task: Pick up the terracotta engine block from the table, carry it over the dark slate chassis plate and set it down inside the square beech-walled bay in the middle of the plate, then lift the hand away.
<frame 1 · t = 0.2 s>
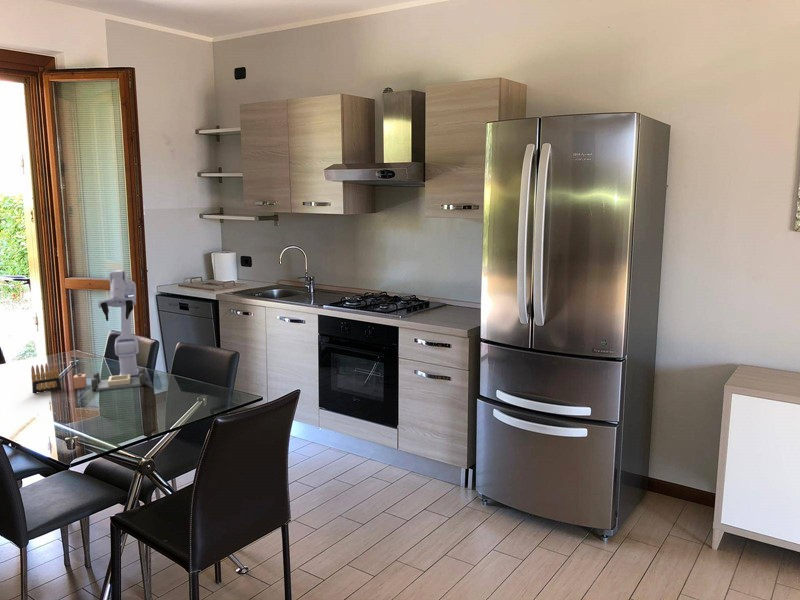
hand: (116, 318, 276), 31 cm above the table, tool tilted 45°, fingers open, 7 cm apart
ammunition clip: (47, 391, 285), on the table
chassis: (119, 384, 292), on the table
engine block: (80, 386, 290), on the table
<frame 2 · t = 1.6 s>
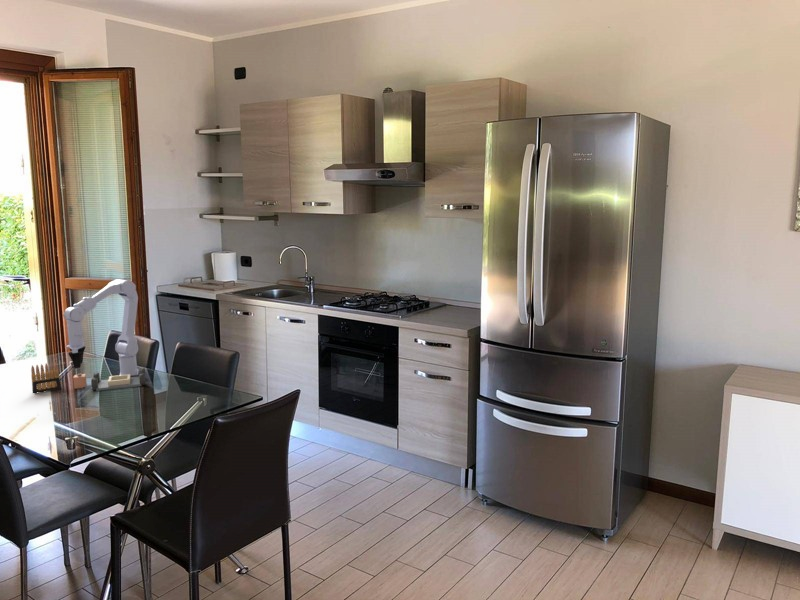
hand: (78, 365, 288), 9 cm above the table, tool pointing down, fingers open, 7 cm apart
nothing on the table moved.
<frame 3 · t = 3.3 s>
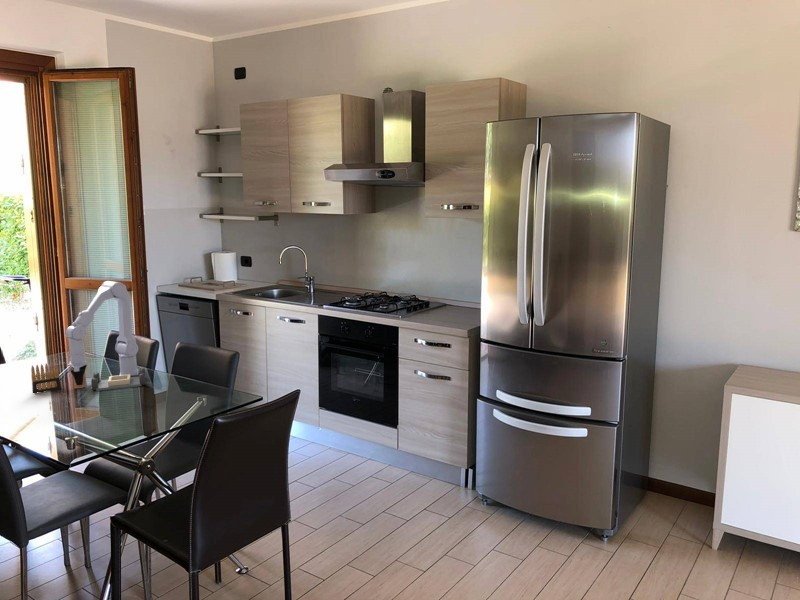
hand: (80, 383, 289), 1 cm above the table, tool pointing down, fingers closed on engine block, 4 cm apart
engine block: (80, 386, 290), on the table, touching gripper
everything else where it was.
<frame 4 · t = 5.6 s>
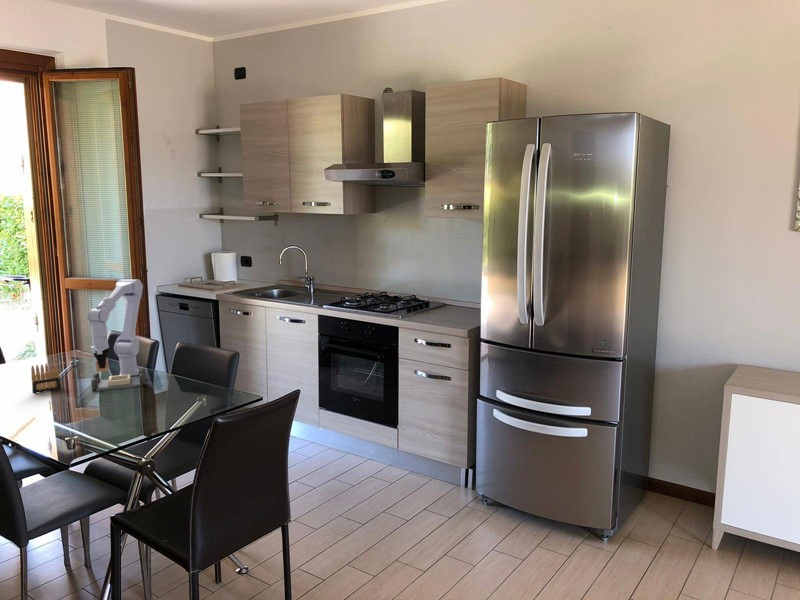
hand: (103, 366, 290), 8 cm above the table, tool pointing down, fingers closed on engine block, 4 cm apart
engine block: (102, 370, 290), point 7 cm above the table, touching gripper
everything else where it was.
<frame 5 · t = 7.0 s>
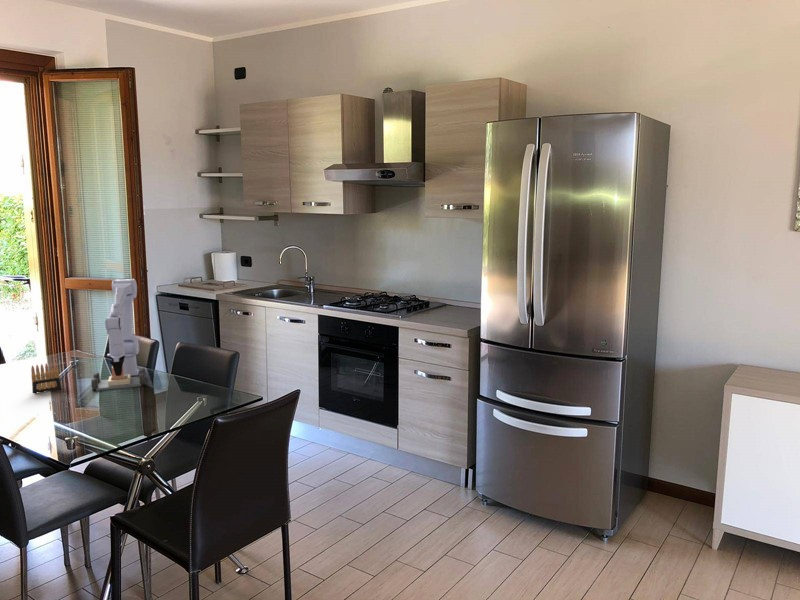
hand: (119, 374, 291), 5 cm above the table, tool pointing down, fingers closed on engine block, 4 cm apart
engine block: (118, 377, 291), point 3 cm above the table, touching gripper
everything else where it was.
when the fingers open (4 cm above the table, at t = 8.1 s): engine block drops 1 cm, resting on chassis.
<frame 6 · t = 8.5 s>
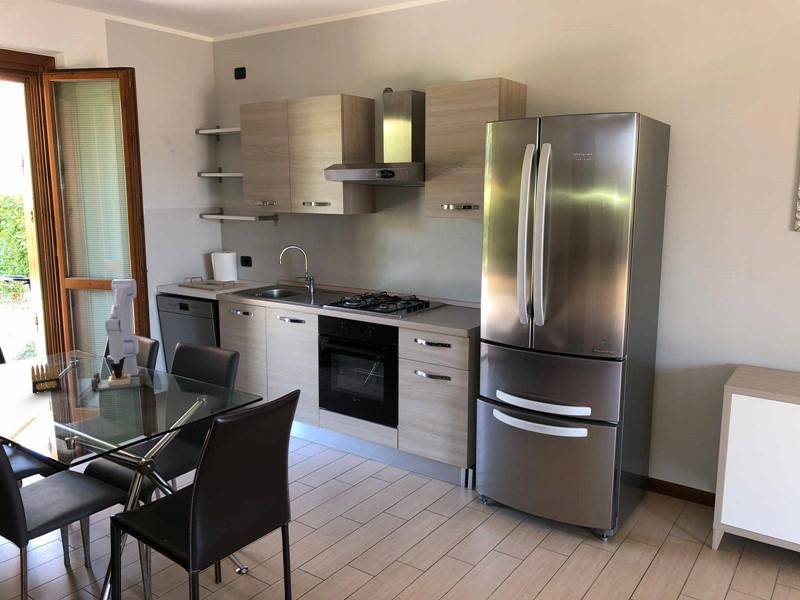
hand: (119, 375, 291), 4 cm above the table, tool pointing down, fingers open, 7 cm apart
engine block: (118, 382, 292), point 1 cm above the table, touching chassis
everything else where it was.
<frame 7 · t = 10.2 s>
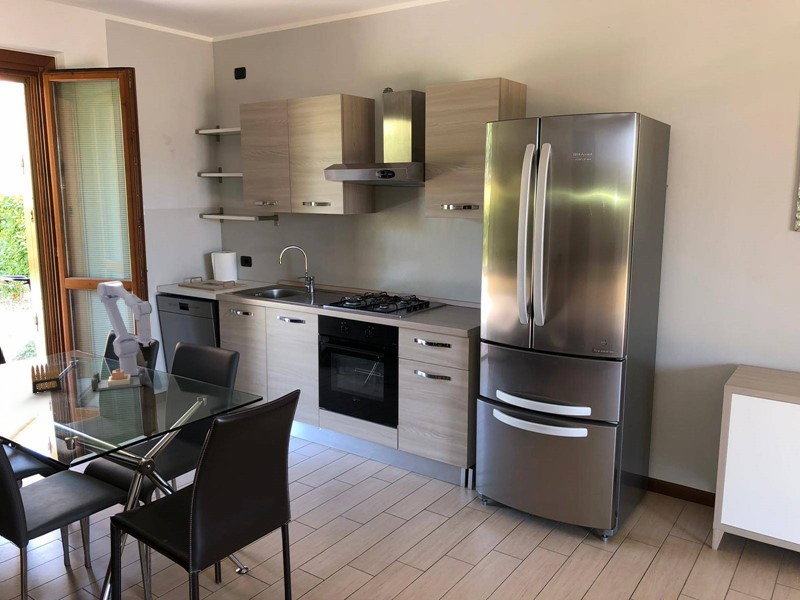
hand: (146, 358, 298), 9 cm above the table, tool pointing down, fingers open, 7 cm apart
nothing on the table moved.
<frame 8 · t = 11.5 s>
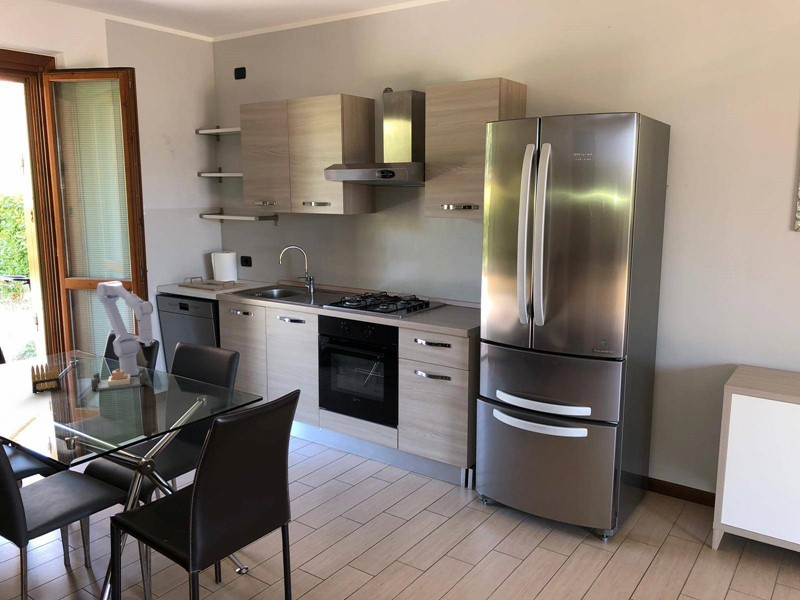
hand: (147, 358, 298), 9 cm above the table, tool pointing down, fingers open, 7 cm apart
nothing on the table moved.
at the end: engine block 0.3 cm off-centre on the chassis, point 1.0 cm above the chassis's base; engine block tilted 0°; the gripper is holding nothing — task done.
